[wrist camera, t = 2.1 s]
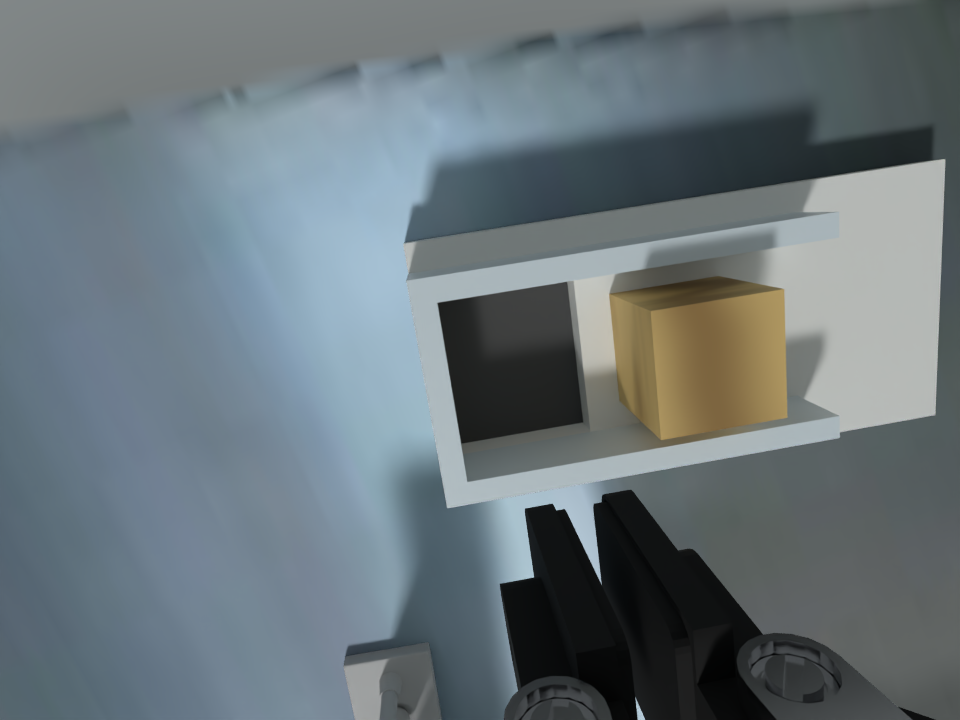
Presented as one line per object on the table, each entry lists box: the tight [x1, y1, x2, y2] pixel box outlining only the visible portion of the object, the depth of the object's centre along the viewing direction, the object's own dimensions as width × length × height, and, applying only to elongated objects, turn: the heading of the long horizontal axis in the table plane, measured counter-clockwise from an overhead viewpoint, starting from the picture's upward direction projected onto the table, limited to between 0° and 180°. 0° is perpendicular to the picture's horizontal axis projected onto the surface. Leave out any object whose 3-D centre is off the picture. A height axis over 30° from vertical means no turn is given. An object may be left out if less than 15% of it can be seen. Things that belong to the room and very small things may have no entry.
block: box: [609, 276, 787, 440], centre depth 25 cm, size 5×5×5 cm
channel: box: [403, 159, 945, 508], centre depth 26 cm, size 24×12×4 cm, turn 98°
